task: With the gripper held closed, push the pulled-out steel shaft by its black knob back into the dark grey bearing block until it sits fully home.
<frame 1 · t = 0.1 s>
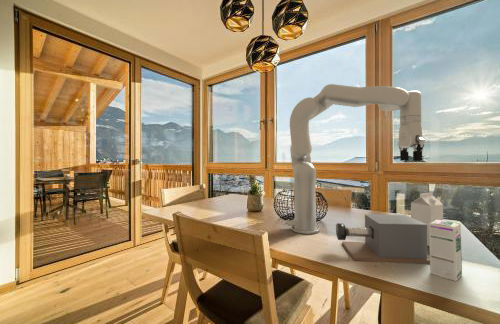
hand: (410, 160, 96), 31 cm above the table, tool pointing down, fingers open, 9 cm apart
milk carton: (426, 243, 85), on the table
syrup box: (445, 274, 62), on the table
bearing block: (393, 253, 77), on the table
shaft: (365, 232, 78), point 7 cm above the table, slide at 9.0 cm
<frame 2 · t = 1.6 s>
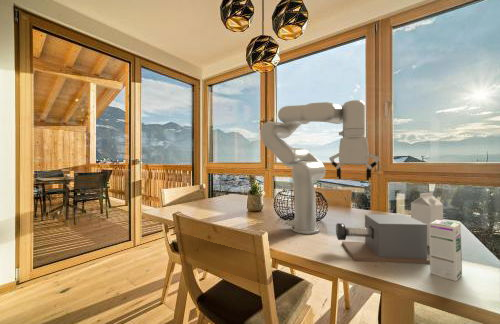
hand: (353, 179, 85), 25 cm above the table, tool pointing down, fingers open, 9 cm apart
nothing on the table moved.
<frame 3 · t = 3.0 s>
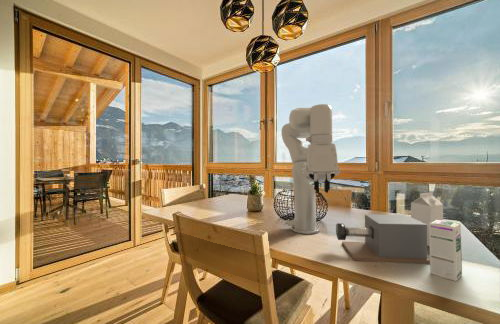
hand: (321, 191, 79), 21 cm above the table, tool pointing down, fingers closed
nothing on the table moved.
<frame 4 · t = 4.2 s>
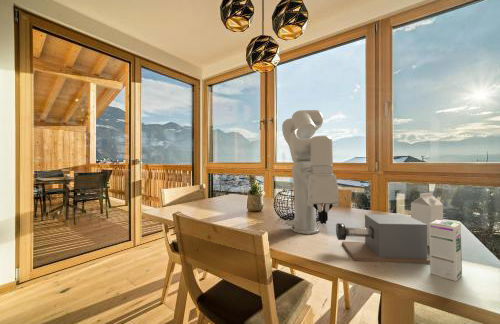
hand: (323, 222, 79), 10 cm above the table, tool pointing down, fingers closed
nothing on the table moved.
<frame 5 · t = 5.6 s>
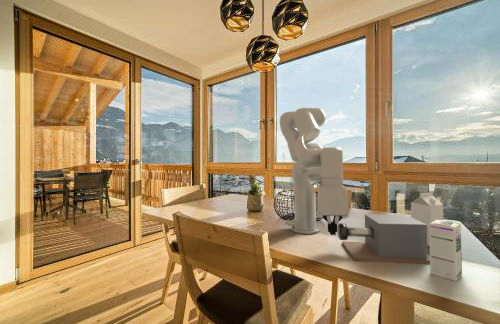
hand: (332, 233, 79), 6 cm above the table, tool pointing down, fingers closed
shaft: (366, 232, 78), point 7 cm above the table, slide at 8.4 cm, touching gripper
everything else where it was.
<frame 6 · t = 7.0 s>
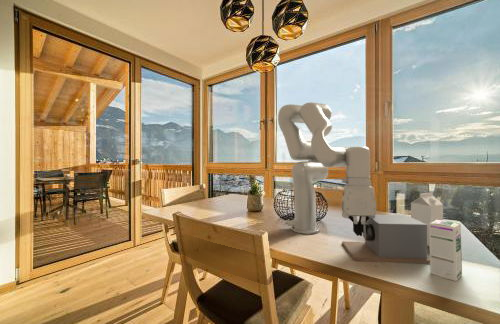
hand: (358, 234, 78), 6 cm above the table, tool pointing down, fingers closed
shaft: (393, 232, 76), point 7 cm above the table, slide at -0.2 cm, touching bearing block, gripper
everything else where it was.
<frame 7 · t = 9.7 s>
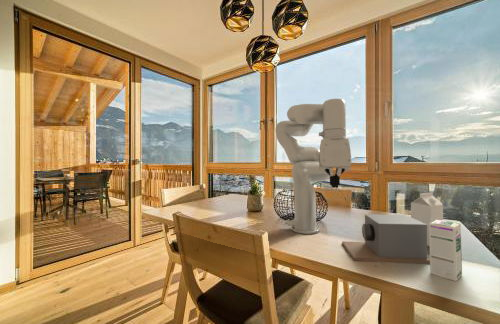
hand: (334, 187, 79), 23 cm above the table, tool pointing down, fingers closed
shaft: (393, 232, 76), point 7 cm above the table, slide at 0.0 cm
everything else where it was.
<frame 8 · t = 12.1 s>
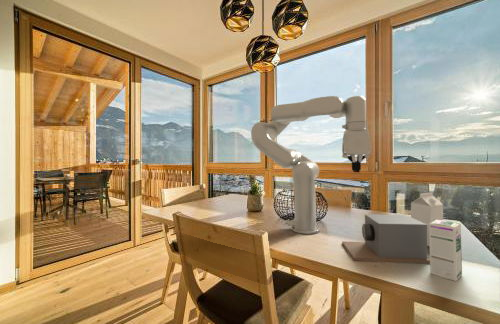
hand: (356, 171, 92), 27 cm above the table, tool pointing down, fingers closed
nothing on the table moved.
at the end: shaft slide at 0.0 cm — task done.
